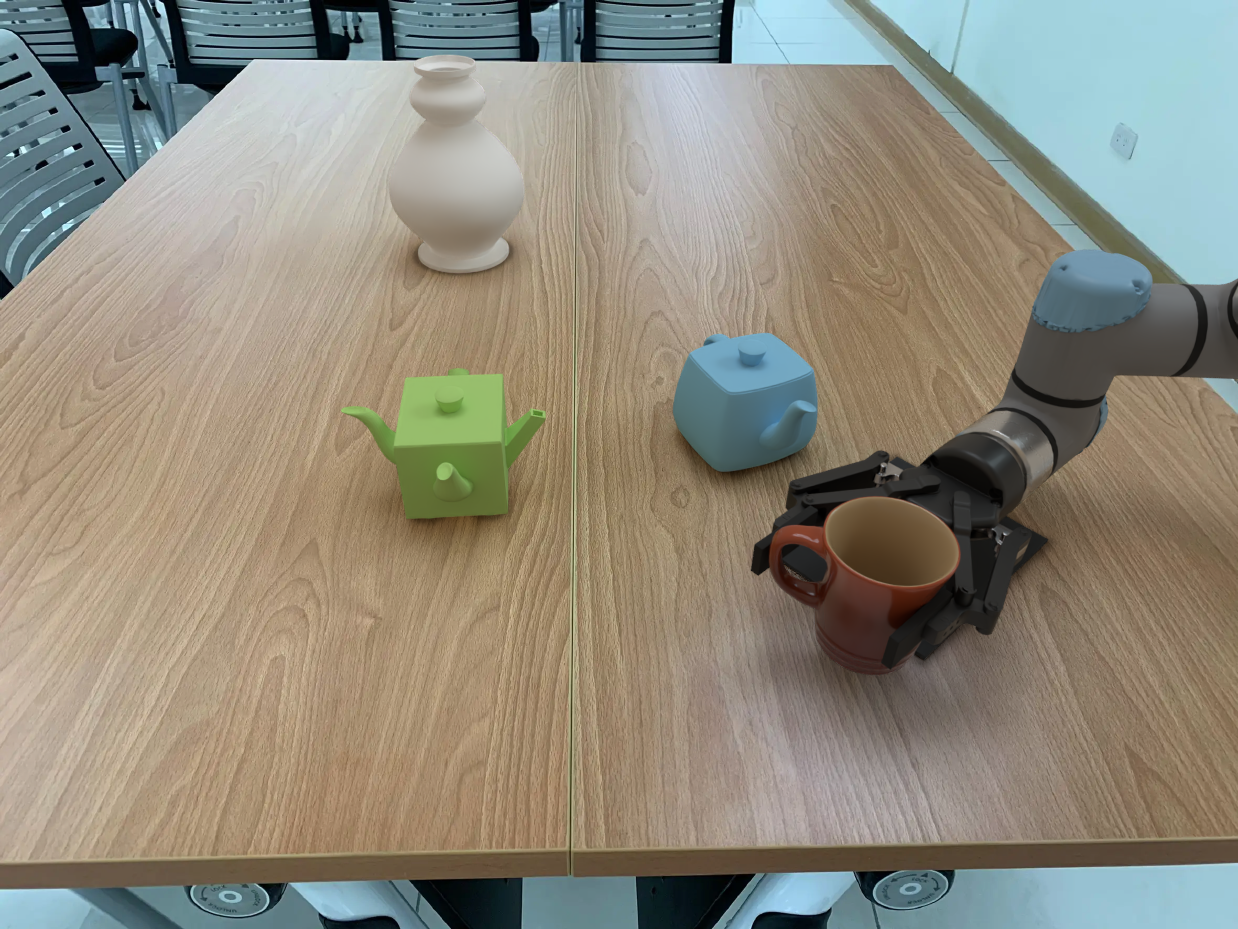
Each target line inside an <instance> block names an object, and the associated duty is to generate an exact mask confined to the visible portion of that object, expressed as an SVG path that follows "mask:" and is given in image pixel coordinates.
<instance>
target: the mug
mask: <svg viewBox="0 0 1238 929" xmlns="http://www.w3.org/2000/svg"><path fill="white" fill-rule="evenodd" d="M788 544H799V545H803V546H806V547H808V548H810V549H811V550H813V551H814V552H815V553H817V554H818V555H819V556H821V557H822V558H823V559H825V560H826V562H827V566H826V571H825V574H824V577H823V579H822V580H821V581H818V582H810V581H808V580H803V579H800V578H798V577H796V576H795V575H793V574H791V573H790V572H789V571H788V569H787V567H786V565H785V564H784V563H783V559H782V548H783V547H784V546H785V545H788ZM960 555H961V552H960V546H959V543H958V541H957V538H956V537H955V535H954V533H953V532H952V530H951V529H950V528H949V527H948V526H947V525H946V524H945V523H944V522H943V521H942V520H941V519H940V518H939V517H937V516H936V515H935V514H933V513H931V512H930V511H928V510H926V509H924V508H922V507H920V506H918V505H916V504H913V503H911V502H908V501H904V500H901V499H896V498H890V497H881V496H870V497H861V498H856V499H852V500H850V501H847V502H845V503H843V504H841V505H839V506H837V507H836V508H834V509H833V510H832V511H831V512H830V513H829V514H828V516H827V518H826V520H825V522H824V526H823V527H817V526H804V525H788V526H785V527H782V528H781V529H779V530H778V531H777V532H776V533H775V534H774V536H773V538H772V541H771V544H770V549H769V571H770V575H771V577H772V579H773V581H774V582H775V584H776V585H777V586H778V587H779V588H780V589H781V591H783V592H784V593H786V595H788V596H790V597H792V598H793V599H794V600H795V601H797V602H799V603H800V604H802V605H804V606H806V607H809V608H811V609H814V619H813V623H814V634H815V639H816V642H817V644H818V645H819V647H820V649H821V650H822V651H823V653H824V654H825V655H826V656H827V657H828V658H829V659H830V660H831V661H833V662H834V663H835V664H837V665H838V666H840V667H841V668H844V669H845V670H848V671H850V672H853V673H857V674H860V675H863V676H864V675H865V676H885V675H888V674H892V673H894V672H897V671H899V670H900V669H902V668H903V667H904V666H906V665H907V664H908V662H909V661H910V659H911V658H912V657H913V656H914V655H915V654H914V653H915V651H916V649H917V648H918V646H919V645H920V643H921V642H920V643H919V644H918V645H916V646H915V647H914V648H913V649H912V650H911V651H910V652H909V653H908V654H907V655H906V656H905V657H904V658H903V659H901V660H900V661H899V662H898V663H897V664H896V665H895V666H894V667H893V668H892V669H891V670H890V669H889V668H887V667H886V666H885V665H883V664H882V663H881V661H882V658H883V655H884V652H885V648H886V645H887V642H888V639H889V636H890V635H891V634H892V633H894V632H895V631H896V630H897V629H898V628H899V627H900V626H901V625H903V624H904V623H905V622H906V621H907V620H908V619H909V618H910V617H911V616H913V615H914V614H915V613H916V612H917V611H918V610H919V609H920V608H922V607H923V606H924V605H925V604H926V603H928V602H929V601H930V600H931V599H932V598H933V597H934V596H935V595H936V593H937V592H938V591H939V589H940V588H941V587H942V586H943V585H944V584H945V583H946V582H947V581H948V580H949V579H950V578H951V577H952V575H953V574H954V573H955V571H956V570H957V568H958V566H959V563H960Z"/></svg>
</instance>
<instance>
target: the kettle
mask: <svg viewBox="0 0 1238 929" xmlns="http://www.w3.org/2000/svg"><path fill="white" fill-rule="evenodd" d="M504 380H505V379H504V374H503V373H488V374H487V373H486V374H483V373H482V374H470V371H469V370H468V369H467V368H462V367H457V368H456V367H454V368H451V369H449V370H447V375H431V376H411V377H410V376H407V377H405V379H404V383H403V388H402V389H403V390H402V394H401V400H400V406H399V410H398V416H397V417H398V418H397V423H396V429H395V431H394V430H392V429H391V428H390V427H389V426H388V425H387V424H386V422H385V421H384V419H383V418H382V417H381V416H380V415H379V414H378V413H377V412H376V411H374V410H373V409H371V408H369V407H366V406H360V405H351V406H344V407H342V408H341V409H340V412H341V413H342V414H345V415H347V416H350V417H352V418H355V419H357V420H358V421H360V422H361V423H363V424H364V425H365V427H366V428H367V429H368V431H369V432H370V434H371V436H372V437H373V439H374V442H375V443H376V445H377V447H378V448H379V450H380V452H381V453H382V454H383V456H384V457H385V458H386V459H387V460H388V461H389V462H390V463H391V464H394V465H395V466H396V472H397V477H398V483H399V487H400V493H401V499H402V504H403V509H404V515H405V519H406V520H413V519H415V520H416V519H428V520H430V519H436V518H450V517H451V518H453V517H471V516H487V517H488V516H495V515H508V514H509V469H510V468H511V467H512V465H513V464H514V463H515V461H516V460H517V459H518V457H519V456H520V455H521V453H522V452H523V450H525V448H526V446H527V445H528V444H529V443H530V441H531V440H532V439H533V437H534V436H535V435H536V433H537V432H538V431H539V429H540V428H541V427H542V425H543V424H544V423H545V422H546V419H547V414H546V410H542V409H536V408H530V409H529V410H528V411H526V413H524V414H523V415H522V416H521V417H520V418H518V419H517V420H516V421H515V422H514V423H512V424H511V425H510V426H508V418H507V406H506V405H507V404H506V395H505V381H504Z"/></svg>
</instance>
